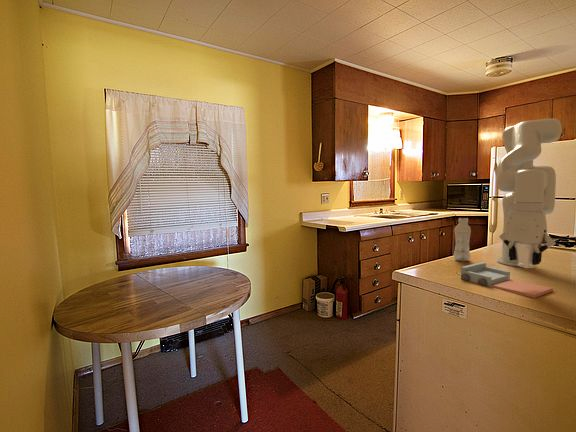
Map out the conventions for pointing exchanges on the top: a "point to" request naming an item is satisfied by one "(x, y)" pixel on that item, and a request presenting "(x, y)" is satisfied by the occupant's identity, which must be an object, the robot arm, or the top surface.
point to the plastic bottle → (462, 240)
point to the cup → (524, 254)
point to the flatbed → (484, 274)
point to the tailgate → (523, 288)
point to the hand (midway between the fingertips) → (524, 261)
